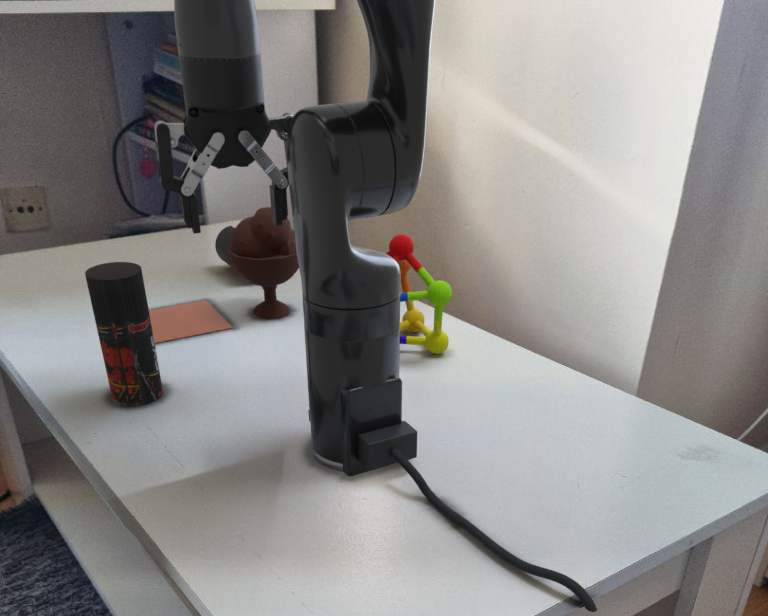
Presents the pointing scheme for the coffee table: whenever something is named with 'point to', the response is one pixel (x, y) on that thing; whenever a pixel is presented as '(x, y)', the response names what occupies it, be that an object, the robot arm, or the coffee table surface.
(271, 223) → the ice cream bowl
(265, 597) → the coffee table surface
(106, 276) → the deodorant
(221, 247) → the end cap
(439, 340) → the educational toy
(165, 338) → the tile
